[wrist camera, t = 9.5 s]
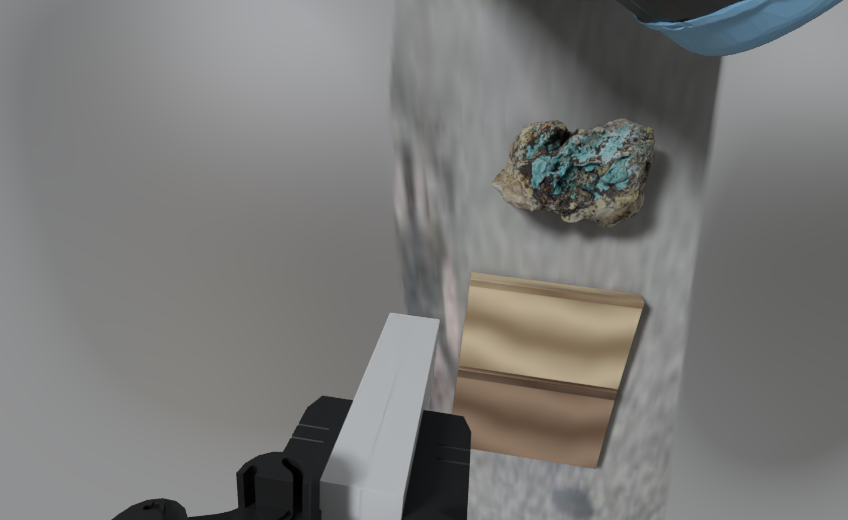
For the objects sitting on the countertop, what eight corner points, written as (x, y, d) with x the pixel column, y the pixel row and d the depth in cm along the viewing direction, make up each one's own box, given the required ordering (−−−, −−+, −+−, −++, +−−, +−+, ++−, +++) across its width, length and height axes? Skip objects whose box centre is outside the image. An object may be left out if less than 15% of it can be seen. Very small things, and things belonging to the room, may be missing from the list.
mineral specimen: (660, 119, 41) (654, 118, 34) (645, 227, 43) (636, 246, 37) (517, 117, 46) (486, 116, 40) (511, 214, 49) (481, 228, 42)
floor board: (459, 359, 52) (458, 368, 51) (613, 382, 51) (617, 392, 49) (449, 434, 56) (447, 445, 54) (592, 458, 55) (595, 469, 53)
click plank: (471, 272, 48) (470, 279, 47) (640, 294, 47) (644, 302, 45) (459, 357, 52) (458, 366, 51) (614, 379, 51) (618, 389, 49)
